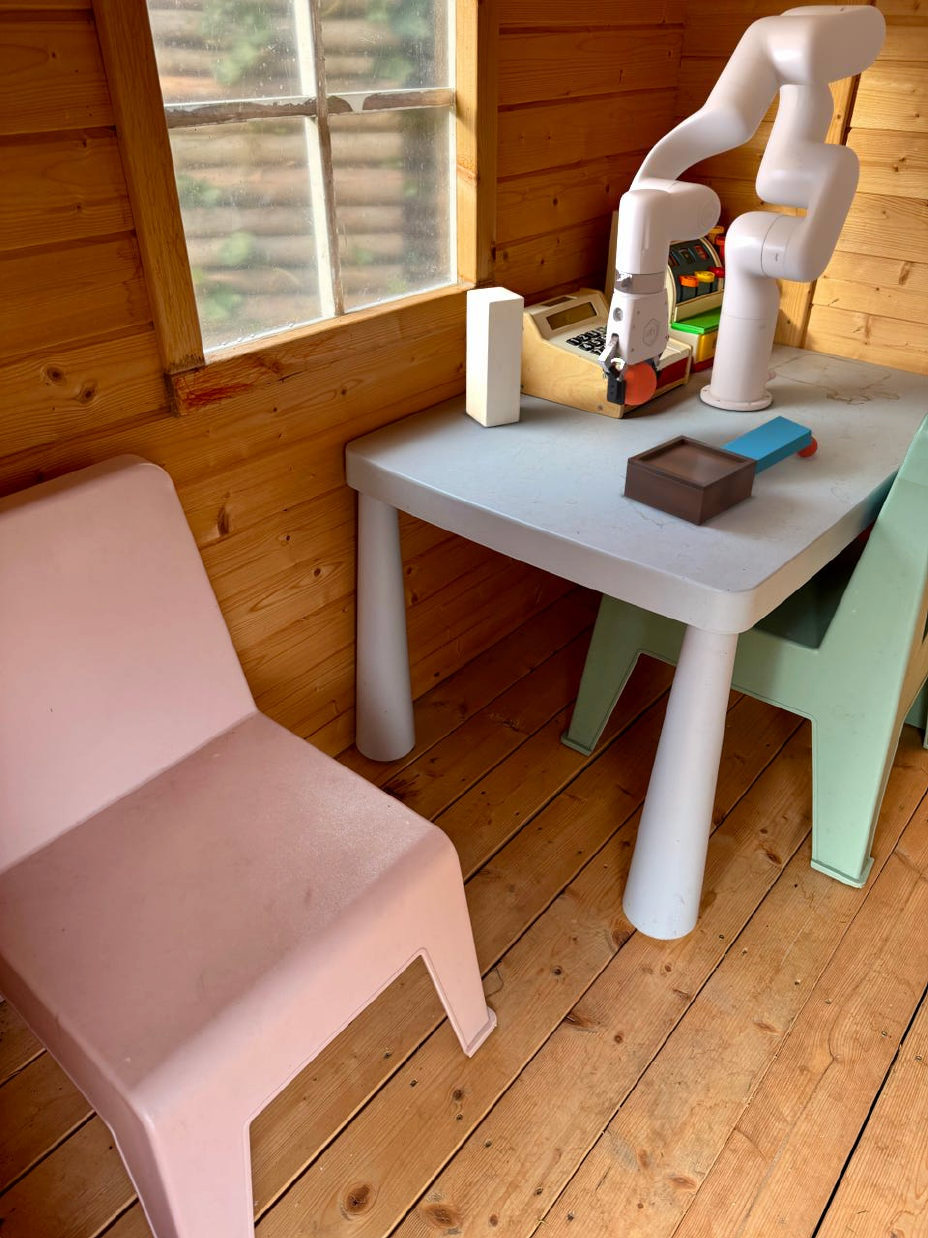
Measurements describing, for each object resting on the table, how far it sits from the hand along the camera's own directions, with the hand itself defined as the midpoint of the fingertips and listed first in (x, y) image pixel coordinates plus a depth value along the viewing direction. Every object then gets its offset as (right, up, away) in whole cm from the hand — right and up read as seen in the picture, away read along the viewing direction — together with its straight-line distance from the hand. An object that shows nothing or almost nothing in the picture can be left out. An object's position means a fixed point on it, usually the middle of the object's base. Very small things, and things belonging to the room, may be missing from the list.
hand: (631, 395), depth 145 cm
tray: (+6, -18, -13) cm, 23 cm away
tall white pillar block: (-21, 0, +14) cm, 26 cm away
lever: (+20, -12, -4) cm, 24 cm away
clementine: (0, -1, +1) cm, 1 cm away
